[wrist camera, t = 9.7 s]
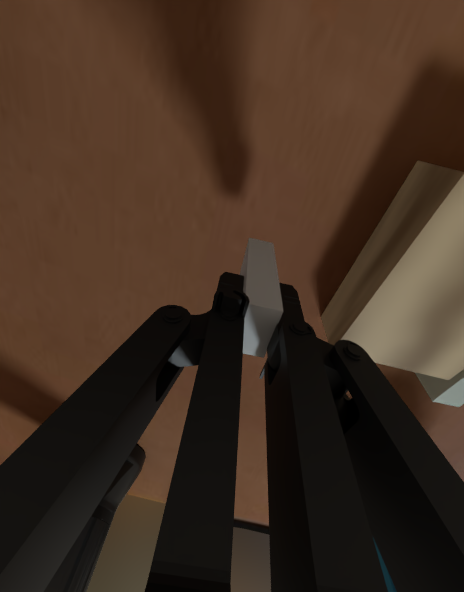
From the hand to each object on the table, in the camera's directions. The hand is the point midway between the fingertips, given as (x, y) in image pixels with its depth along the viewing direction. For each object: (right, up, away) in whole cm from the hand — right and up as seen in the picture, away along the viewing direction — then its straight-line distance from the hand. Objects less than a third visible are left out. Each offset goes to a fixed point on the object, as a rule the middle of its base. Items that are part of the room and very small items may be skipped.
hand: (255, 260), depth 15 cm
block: (+13, 0, +4) cm, 14 cm away
